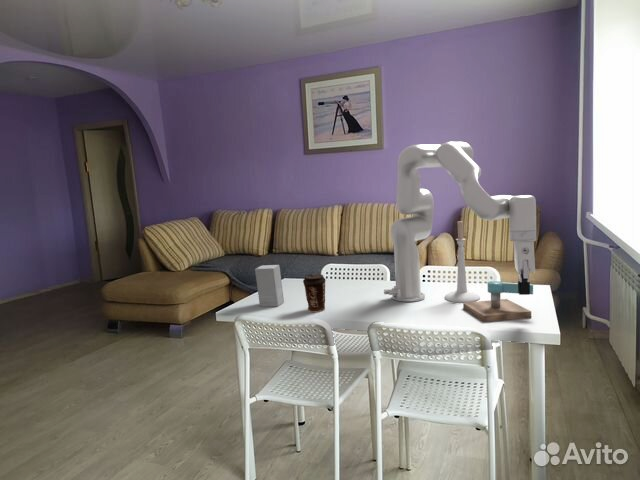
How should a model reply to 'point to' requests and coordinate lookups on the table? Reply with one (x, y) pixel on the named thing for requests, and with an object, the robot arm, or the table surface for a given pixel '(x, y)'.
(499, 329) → the table surface
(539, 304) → the table surface
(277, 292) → the skincare box
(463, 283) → the candlestick
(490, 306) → the post block
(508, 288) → the teal lever handle
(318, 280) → the coffee cup
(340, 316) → the table surface
